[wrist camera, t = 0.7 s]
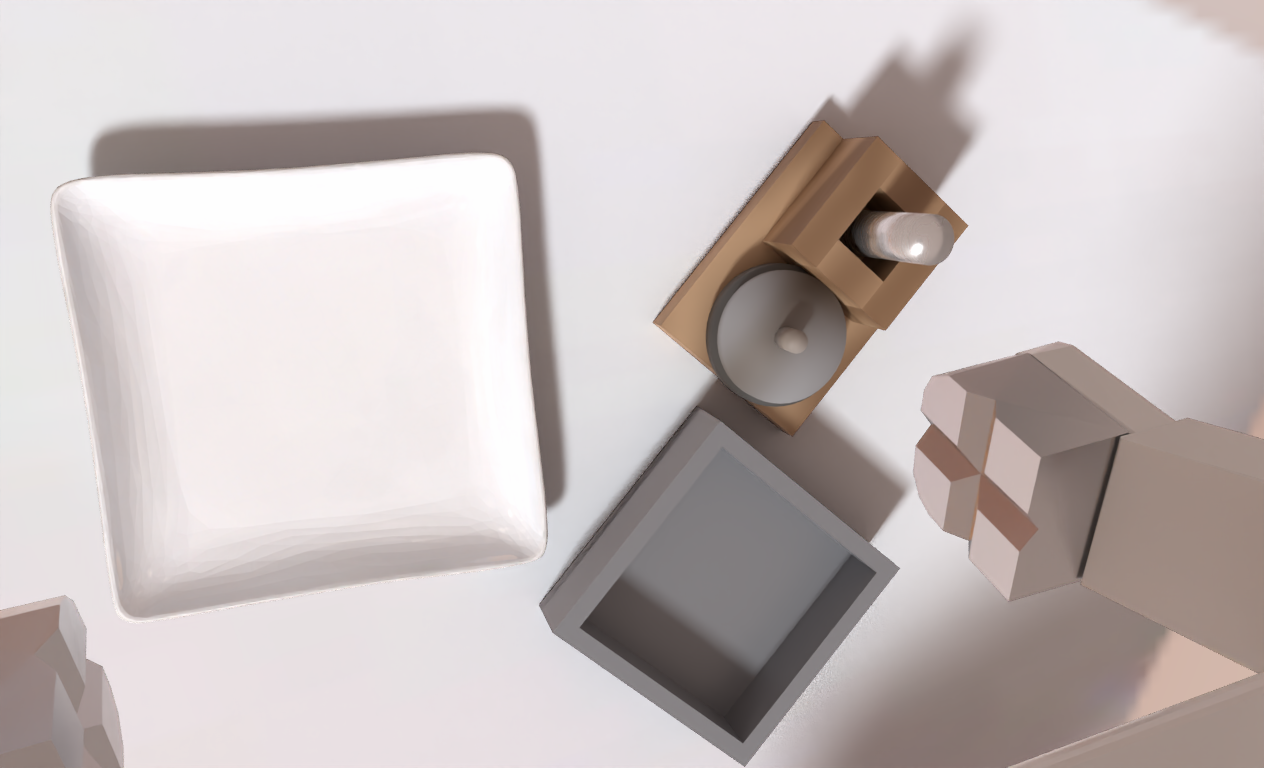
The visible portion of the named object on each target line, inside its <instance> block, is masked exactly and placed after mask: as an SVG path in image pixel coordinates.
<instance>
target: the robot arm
mask: <svg viewBox="0 0 1264 768" xmlns="http://www.w3.org/2000/svg"><path fill="white" fill-rule="evenodd" d="M921 411H922V413H923V414H924V415H925V417H926V418H927V419H928V421H929V422H930V423H931V425H930V427H929V428H928V429H927V431H926V432H925V434H924V435H923V436H922V438H921V439H920V440H919V442H918V443H917V445H916V448H915V458H914V468H913V474H914V478H915V482H916V486H917V490H918V494H919V498H920V499H921V501H922V503H923V505H924V507H925V509H926V510H927V512H928V514H929V515H930V517H931V518H932V519H933V520H934V521H935V522H936V523H937V525H938V526H939V527H940V528H941V529H942V530H943V531H945V532H948V533H950V534H953V535H955V536H958V537H960V538H963V539H966V540H968V541H969V560H970V561H971V562H972V563H973V564H974V565H975V566H976V567H977V568H978V569H979V570H980V572H981V573H982V574H983V575H984V576H985V577H986V578H987V579H988V580H989V581H990V582H991V583H992V584H993V586H994V587H995V588H996V589H997V590H998V591H999V592H1000V593H1001V594H1002V595H1003V596H1004V597H1005V598H1006V600H1007V601H1008V602H1009V601H1013V600H1016V599H1020V598H1023V597H1026V596H1030V595H1033V594H1037V593H1040V592H1044V591H1047V590H1050V589H1054V588H1057V587H1061V586H1064V585H1068V584H1071V583H1074V582H1078V581H1081V580H1082V581H1081V585H1082V586H1084V587H1086V588H1088V589H1090V590H1092V591H1094V592H1096V593H1098V594H1100V595H1102V596H1104V597H1106V598H1108V599H1110V600H1112V601H1114V602H1116V603H1118V604H1120V605H1122V606H1124V607H1126V608H1128V609H1130V610H1132V611H1134V612H1136V613H1138V614H1140V615H1142V616H1144V617H1146V618H1148V619H1150V620H1152V621H1154V622H1156V623H1158V624H1160V625H1162V626H1164V627H1166V628H1168V629H1170V630H1172V631H1174V632H1176V633H1178V634H1180V635H1182V636H1184V637H1186V638H1188V639H1190V640H1192V641H1194V642H1196V643H1198V644H1200V645H1202V646H1204V647H1206V648H1208V649H1210V650H1212V651H1214V652H1216V653H1218V654H1220V655H1222V656H1224V657H1226V658H1228V659H1230V660H1232V661H1234V662H1236V663H1238V664H1240V665H1242V666H1244V667H1246V668H1249V669H1250V670H1252V671H1254V672H1256V673H1258V674H1256V675H1254V676H1251V677H1248V678H1246V679H1243V680H1240V681H1238V682H1235V683H1232V684H1230V685H1227V686H1224V687H1222V688H1219V689H1216V690H1213V691H1211V692H1208V693H1206V694H1203V695H1200V696H1198V697H1195V698H1192V699H1189V700H1187V701H1184V702H1181V703H1179V704H1176V705H1173V706H1171V707H1168V708H1165V709H1162V710H1160V711H1157V712H1154V713H1152V714H1149V715H1147V716H1144V717H1141V718H1138V719H1136V720H1133V721H1130V722H1128V723H1125V724H1122V725H1120V726H1117V727H1114V728H1112V729H1109V730H1106V731H1104V732H1101V733H1098V734H1095V735H1093V736H1090V737H1087V738H1085V739H1082V740H1079V741H1077V742H1074V743H1071V744H1069V745H1066V746H1063V747H1061V748H1058V749H1055V750H1053V751H1050V752H1047V753H1045V754H1042V755H1039V756H1037V757H1034V758H1031V759H1028V760H1026V761H1023V762H1020V763H1018V764H1015V765H1012V766H1010V767H1007V768H1264V439H1261V438H1258V437H1254V436H1250V435H1247V434H1243V433H1240V432H1236V431H1233V430H1229V429H1225V428H1222V427H1218V426H1215V425H1211V424H1208V423H1204V422H1201V421H1197V420H1193V419H1190V418H1186V419H1182V420H1178V421H1175V420H1173V419H1172V418H1171V417H1169V416H1168V415H1167V414H1165V413H1164V412H1163V411H1161V410H1160V409H1158V408H1157V407H1156V406H1154V405H1153V404H1152V403H1150V402H1149V401H1148V400H1146V399H1145V398H1144V397H1142V396H1141V395H1140V394H1138V393H1137V392H1136V391H1134V390H1133V389H1131V388H1130V387H1129V386H1127V385H1126V384H1125V383H1123V382H1122V381H1121V380H1119V379H1118V378H1117V377H1115V376H1114V375H1113V374H1111V373H1110V372H1109V371H1107V370H1106V369H1104V368H1103V367H1102V366H1100V365H1099V364H1098V363H1096V362H1095V361H1094V360H1092V359H1091V358H1090V357H1088V356H1087V355H1086V354H1084V353H1083V352H1082V351H1080V350H1079V349H1077V348H1076V347H1075V346H1073V345H1070V344H1066V343H1062V342H1055V343H1051V344H1048V345H1044V346H1041V347H1037V348H1033V349H1030V350H1026V351H1023V352H1019V353H1017V354H1015V355H1014V356H1009V357H1005V358H1001V359H997V360H993V361H989V362H986V363H982V364H978V365H974V366H970V367H966V368H962V369H959V370H955V371H951V372H947V373H943V374H939V375H935V376H932V377H931V379H930V381H929V383H928V384H927V386H926V388H925V389H924V394H923V400H922V406H921ZM0 768H124V756H123V741H122V735H121V728H120V721H119V715H118V710H117V707H116V703H115V700H114V696H113V693H112V690H111V686H110V684H109V681H108V679H107V676H106V674H105V672H104V669H103V667H102V666H101V665H98V664H96V663H94V662H92V661H90V660H88V659H86V627H85V625H84V622H83V620H82V618H81V616H80V614H79V612H78V610H77V607H76V605H75V603H74V601H73V600H72V599H70V598H69V597H67V596H66V595H64V596H59V597H55V598H51V599H46V600H42V601H38V602H33V603H29V604H25V605H21V606H16V607H12V608H8V609H3V610H0Z"/></svg>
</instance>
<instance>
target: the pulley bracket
mask: <svg viewBox="0 0 1264 768" xmlns="http://www.w3.org/2000/svg"><path fill="white" fill-rule="evenodd" d="M862 210H869V211H887V212H906V213H925V214H937V215H940V216H943V217H944V218H945V219H947V220H948V221H949V223H950V224H951V226H952V228H953V231H954V243H955V242H956V241H957V239H958V238H959V237H960V235H961V234H962V233H963V232H964V230H965V229H966V228H967V227H968V225H967V224H966V223H965V222H964V221H963V220H962V219H961V218H960V217H959V216H958V215H957V214H956V213H955V212H954V211H953V210H952V209H951V208H950V207H949V206H948V205H947V204H946V203H945V202H944V201H943V200H942V199H941V198H940V197H939V196H938V195H937V194H936V193H935V192H934V191H933V190H932V189H931V188H930V187H929V186H928V185H927V184H926V183H925V182H924V181H923V180H922V179H921V178H920V177H919V176H918V175H917V174H916V173H915V172H914V171H913V170H911V169H910V168H909V167H908V166H907V165H906V164H905V163H904V162H903V161H902V160H901V159H900V158H899V157H898V156H897V155H896V154H895V153H894V152H893V151H892V150H891V149H890V148H889V147H888V146H887V145H886V144H885V143H884V142H883V141H882V140H881V139H880V138H879V137H878V136H874V137H862V138H850V139H843V138H842V137H841V136H840V135H839V134H838V133H837V132H836V131H835V130H833V129H832V128H831V127H830V126H829V125H828V124H827V123H826V122H825V121H824V120H823V121H815V122H812V123H811V124H810V126H809V127H808V128H807V129H806V131H805V132H804V133H803V134H802V136H801V137H800V138H799V139H798V141H797V142H796V143H795V144H794V146H793V147H792V148H791V149H790V151H789V152H788V153H787V155H786V156H785V157H784V158H783V160H782V161H781V162H780V163H779V165H778V166H777V167H776V168H775V170H774V171H773V172H772V173H771V175H770V176H769V177H768V178H767V180H766V181H765V182H764V183H763V185H762V186H761V187H760V188H759V190H758V191H757V192H756V193H755V195H754V196H753V197H752V199H751V200H750V201H749V202H748V204H747V205H746V206H745V207H744V209H743V210H742V211H741V212H740V214H739V215H738V216H737V217H736V219H735V220H734V221H733V222H732V224H731V225H730V226H729V227H728V229H727V230H726V231H725V232H724V234H723V235H722V236H721V237H720V239H719V240H718V241H717V242H716V244H715V245H714V246H713V248H712V249H711V250H710V251H709V253H708V254H707V255H706V256H705V258H704V259H703V260H702V261H701V263H700V264H699V265H698V266H697V268H696V269H695V270H694V271H693V273H692V274H691V275H690V276H689V278H688V279H687V280H686V281H685V283H684V284H683V285H682V286H681V288H680V289H679V290H678V291H677V293H676V294H675V295H674V297H673V298H672V299H671V300H670V302H669V303H668V304H667V305H666V307H665V308H664V309H663V310H662V312H661V313H660V314H659V315H658V317H657V318H656V319H655V320H654V322H653V323H654V324H655V325H656V326H658V327H659V328H660V329H661V330H662V331H664V332H665V333H666V334H667V335H668V336H669V337H671V338H672V339H673V340H674V341H675V342H677V343H678V344H679V345H680V346H681V347H683V348H684V349H685V350H686V351H687V352H689V353H690V354H691V355H692V356H693V357H695V358H696V359H697V360H698V361H699V362H701V363H702V364H703V365H704V366H705V367H706V368H708V369H709V370H710V371H711V372H712V373H714V374H715V375H716V376H717V377H718V378H719V379H720V380H721V382H722V383H723V384H724V385H725V386H726V387H727V388H728V389H730V390H731V391H732V392H734V393H735V394H737V395H738V396H740V397H742V398H743V399H745V400H746V401H747V402H748V403H749V404H751V405H752V406H753V407H754V408H755V409H757V410H758V411H759V412H760V413H761V414H763V415H764V416H765V417H766V418H767V419H769V420H770V421H771V422H772V423H773V424H775V425H776V426H777V427H778V428H779V429H780V430H782V431H783V432H785V433H787V434H789V435H791V436H793V435H794V434H795V432H796V431H797V430H798V429H799V427H800V426H801V425H802V424H803V422H804V421H805V420H806V419H807V417H808V416H809V415H810V413H811V412H812V411H813V410H814V408H815V407H816V406H817V405H818V403H819V402H820V401H821V400H822V398H823V397H824V396H825V394H826V393H827V392H828V391H829V389H830V388H831V387H832V386H833V384H834V383H835V382H836V381H837V379H838V378H839V377H840V375H841V374H842V373H843V372H844V370H845V369H846V368H847V367H848V365H849V364H850V363H851V362H852V360H853V359H854V358H855V356H856V355H857V354H858V353H859V351H860V350H861V349H862V348H863V346H864V345H865V344H866V342H867V341H868V340H869V339H870V337H871V336H872V335H873V334H874V332H875V331H876V330H877V329H882V330H885V331H886V329H887V328H888V327H889V326H890V324H891V323H892V322H893V320H894V319H895V318H896V317H897V315H898V314H899V313H900V312H901V310H902V309H903V308H904V307H905V305H906V304H907V303H908V301H909V300H910V299H911V298H912V296H913V295H914V294H915V293H916V291H917V290H918V289H919V287H920V286H921V285H922V284H923V282H924V281H925V280H926V279H927V277H928V276H929V275H930V274H931V272H932V271H933V270H934V268H935V267H936V266H937V265H938V264H936V265H921V264H914V263H907V262H900V261H893V260H886V259H878V258H871V257H864V256H857V255H854V254H853V253H852V252H851V251H850V250H849V249H848V248H847V247H846V246H845V245H844V244H843V243H841V242H840V241H839V238H840V237H841V236H842V235H843V233H844V232H845V231H846V230H847V228H848V227H849V226H850V224H851V223H852V222H853V221H854V219H855V218H856V217H857V216H858V214H859V213H860V212H861V211H862Z"/></svg>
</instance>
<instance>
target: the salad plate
mask: <svg viewBox="0 0 1264 768" xmlns="http://www.w3.org/2000/svg"><path fill="white" fill-rule="evenodd" d="M50 209H51V221H52V229H53V236H54V243H55V249H56V255H57V260H58V265H59V270H60V275H61V280H62V286H63V291H64V296H65V301H66V306H67V311H68V315H69V320H70V325H71V331H72V336H73V342H74V347H75V352H76V357H77V362H78V367H79V372H80V378H81V383H82V389H83V396H84V402H85V408H86V414H87V420H88V426H89V433H90V440H91V447H92V455H93V462H94V469H95V476H96V484H97V491H98V499H99V507H100V515H101V523H102V532H103V541H104V547H105V554H106V563H107V570H108V577H109V583H110V589H111V594H112V599H113V604H114V607H115V610H116V612H117V615H118V616H119V617H120V618H121V619H122V620H124V621H127V622H131V623H145V622H154V621H160V620H167V619H173V618H180V617H186V616H191V615H197V614H202V613H208V612H213V611H219V610H225V609H230V608H236V607H242V606H247V605H253V604H258V603H264V602H269V601H275V600H281V599H287V598H293V597H299V596H304V595H310V594H316V593H323V592H329V591H335V590H341V589H347V588H354V587H360V586H366V585H373V584H379V583H386V582H393V581H400V580H408V579H418V578H427V577H436V576H445V575H454V574H462V573H470V572H478V571H486V570H492V569H498V568H504V567H510V566H515V565H521V564H525V563H529V562H532V561H535V560H537V559H539V558H540V557H542V556H543V554H544V552H545V549H546V545H547V537H548V529H547V511H546V497H545V487H544V480H543V470H542V462H541V454H540V446H539V437H538V428H537V420H536V412H535V403H534V393H533V386H532V377H531V366H530V354H529V341H528V328H527V313H526V300H525V285H524V266H523V251H522V233H521V213H520V202H519V193H518V183H517V178H516V173H515V170H514V168H513V165H512V164H511V163H510V161H509V160H508V159H507V158H505V157H504V156H502V155H499V154H495V153H477V152H470V153H454V154H441V155H432V156H422V157H411V158H400V159H388V160H378V161H367V162H355V163H343V164H331V165H318V166H307V167H295V168H277V169H260V170H240V171H213V172H186V173H151V174H117V175H106V176H95V177H87V178H81V179H77V180H72V181H69V182H67V183H64V184H62V185H60V186H59V187H57V189H56V190H55V191H54V193H53V195H52V198H51V204H50Z"/></svg>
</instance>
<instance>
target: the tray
mask: <svg viewBox="0 0 1264 768" xmlns="http://www.w3.org/2000/svg"><path fill="white" fill-rule="evenodd" d="M899 569H900V568H899V567H898V566H896V565H895V564H894V563H893V562H892V561H890V560H889V559H888V558H887V557H886V556H884V555H883V554H882V553H881V552H879V551H878V550H877V549H876V548H875V547H873V546H872V545H871V544H870V543H869V542H867V541H866V540H865V539H864V538H862V537H861V536H860V535H859V534H858V533H856V532H855V531H854V530H853V529H851V528H850V527H849V526H848V525H847V524H845V523H844V522H843V521H842V520H841V519H839V518H838V517H837V516H836V515H834V514H833V513H832V512H831V511H830V510H828V509H827V508H826V507H825V506H824V505H822V504H821V503H820V502H819V501H817V500H816V499H815V498H814V497H813V496H811V495H810V494H809V493H808V492H806V491H805V490H804V489H803V488H802V487H800V486H799V485H798V484H797V483H796V482H794V481H793V480H792V479H791V478H789V477H788V476H787V475H786V474H785V473H783V472H782V471H781V470H780V469H779V468H777V467H776V466H775V465H774V464H772V463H771V462H770V461H769V460H768V459H766V458H765V457H764V456H763V455H761V454H760V453H759V452H758V451H757V450H755V449H754V448H753V447H752V446H751V445H749V444H748V443H747V442H746V441H744V440H743V439H742V438H741V437H740V436H738V435H737V434H736V433H735V432H734V431H732V430H731V429H730V428H729V427H727V426H726V425H725V424H724V423H723V422H721V421H720V420H718V419H717V418H715V417H713V416H712V415H710V414H709V413H707V412H705V411H704V410H702V409H700V408H699V407H697V406H696V408H695V409H694V410H693V411H692V413H691V414H690V415H689V416H688V418H687V419H686V420H685V422H684V423H683V424H682V425H681V427H680V428H679V429H678V430H677V432H676V433H675V434H674V435H673V437H672V438H671V439H670V440H669V442H668V443H667V444H666V446H665V447H664V448H663V449H662V451H661V452H660V453H659V454H658V456H657V457H656V458H655V459H654V461H653V462H652V463H651V464H650V466H649V467H648V468H647V469H646V471H645V472H644V473H643V475H642V476H641V477H640V478H639V480H638V481H637V482H636V483H635V485H634V486H633V487H632V488H631V490H630V491H629V492H628V493H627V495H626V496H625V497H624V499H623V500H622V501H621V502H620V504H619V505H618V506H617V507H616V509H615V510H614V511H613V512H612V514H611V515H610V516H609V517H608V519H607V520H606V521H605V522H604V524H603V525H602V526H601V528H600V529H599V530H598V531H597V533H596V534H595V535H594V536H593V538H592V539H591V540H590V541H589V543H588V544H587V545H586V546H585V548H584V549H583V550H582V552H581V553H580V554H579V555H578V557H577V558H576V559H575V560H574V562H573V563H572V564H571V565H570V567H569V568H568V569H567V570H566V572H565V573H564V574H563V575H562V577H561V578H560V579H559V581H558V582H557V583H556V584H555V586H554V587H553V588H552V589H551V591H550V592H549V593H548V594H547V596H546V597H545V598H544V599H543V601H542V602H541V603H540V605H539V606H540V608H541V610H542V612H543V614H544V616H545V618H546V620H547V622H548V624H549V626H550V628H551V630H552V632H553V633H554V634H555V635H557V636H558V637H559V638H561V639H562V640H564V641H565V642H567V643H568V644H570V645H571V646H572V647H574V648H575V649H577V650H578V651H580V652H581V653H582V654H584V655H585V656H587V657H588V658H590V659H591V660H592V661H594V662H595V663H597V664H598V665H600V666H601V667H602V668H604V669H605V670H607V671H608V672H610V673H611V674H612V675H614V676H615V677H617V678H618V679H620V680H621V681H623V682H624V683H625V684H627V685H628V686H630V687H631V688H633V689H634V690H635V691H637V692H638V693H640V694H641V695H643V696H644V697H645V698H647V699H648V700H650V701H651V702H653V703H654V704H655V705H657V706H658V707H660V708H661V709H663V710H664V711H666V712H667V713H668V714H670V715H671V716H673V717H674V718H676V719H677V720H678V721H680V722H681V723H683V724H684V725H686V726H687V727H688V728H690V729H691V730H693V731H694V732H696V733H697V734H698V735H700V736H701V737H703V738H704V739H706V740H707V741H708V742H710V743H711V744H713V745H714V746H716V747H717V748H719V749H720V750H721V751H723V752H724V753H726V754H727V755H729V756H730V757H731V758H733V759H734V760H736V761H737V762H739V763H740V764H741V765H743V766H744V767H745V766H746V765H747V763H748V762H749V761H750V759H751V758H752V757H753V756H754V754H755V753H756V752H757V750H758V749H759V748H760V747H761V745H762V744H763V743H764V742H765V740H766V739H767V738H768V736H769V735H770V734H771V733H772V731H773V730H774V729H775V727H776V726H777V725H778V724H779V722H780V721H781V720H782V719H783V717H784V716H785V715H786V713H787V712H788V711H789V710H790V708H791V707H792V706H793V704H794V703H795V702H796V701H797V699H798V698H799V697H800V696H801V694H802V693H803V692H804V690H805V689H806V688H807V687H808V685H809V684H810V683H811V681H812V680H813V679H814V678H815V676H816V675H817V674H818V673H819V671H820V670H821V669H822V667H823V666H824V665H825V664H826V662H827V661H828V660H829V658H830V657H831V656H832V655H833V653H834V652H835V651H836V649H837V648H838V647H839V646H840V644H841V643H842V642H843V641H844V639H845V638H846V637H847V635H848V634H849V633H850V632H851V630H852V629H853V628H854V626H855V625H856V624H857V623H858V621H859V620H860V619H861V618H862V616H863V615H864V614H865V612H866V611H867V610H868V609H869V607H870V606H871V605H872V603H873V602H874V601H875V600H876V598H877V597H878V596H879V595H880V593H881V592H882V591H883V589H884V588H885V587H886V586H887V584H888V583H889V582H890V580H891V579H892V578H893V577H894V575H895V574H896V573H897V572H898V570H899Z"/></svg>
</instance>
